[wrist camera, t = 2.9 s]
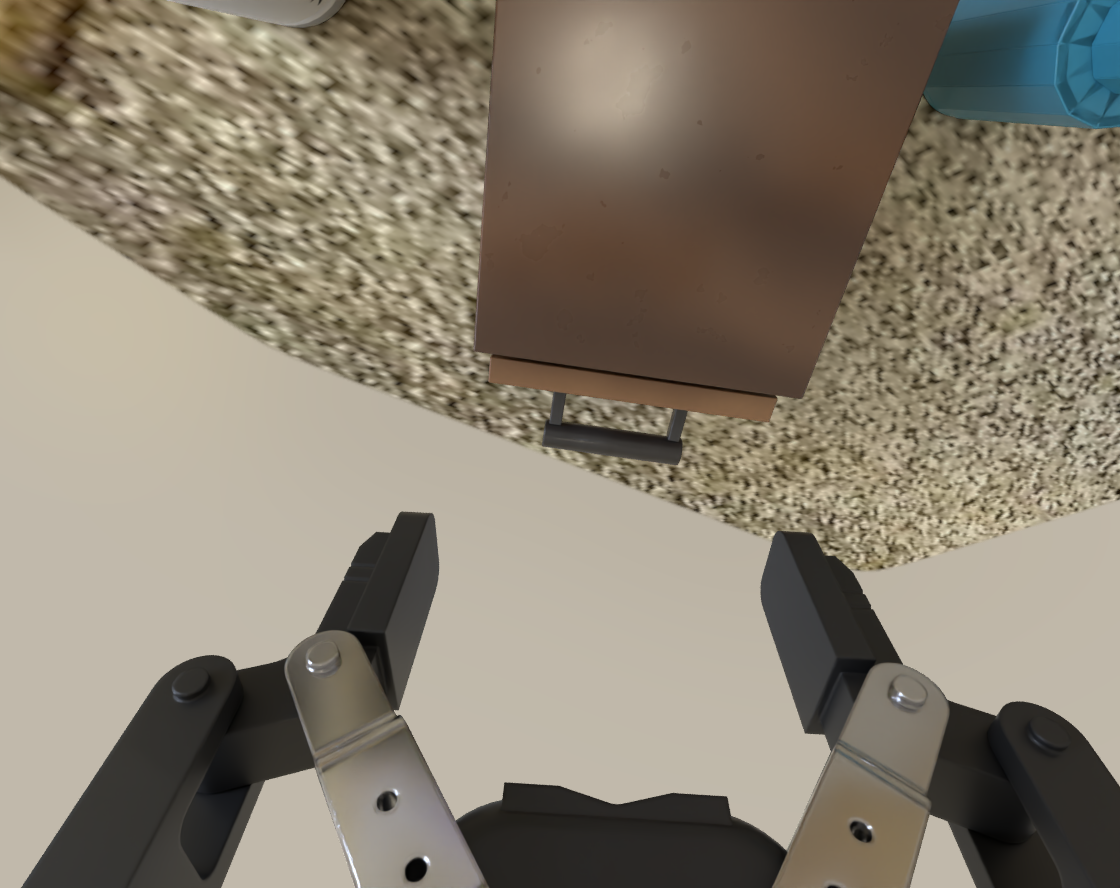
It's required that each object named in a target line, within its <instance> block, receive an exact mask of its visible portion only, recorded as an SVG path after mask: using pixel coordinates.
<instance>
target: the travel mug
mask: <svg viewBox="0 0 1120 888" xmlns="http://www.w3.org/2000/svg"><path fill="white" fill-rule="evenodd" d="M167 1H172V2H176V3H181V4H186V5H190V6H195V7H199V8H204V9H209V10H213V11H218V12H223V13H227V14H232V15H236V16H241V17H246V18H250V19H255V20H260V21H264V22H269V23H275V24H278V25H283V26H287V27H298V28H305V27H310V26H315V25H318V24H320V23H322V22H324V21H326V20H328V19H330V18H331V17H332V16H333V15H334V14H335V13H336V12H337V11H339V10H340V8H341V7H342V5H343V4H344V2H345V1H346V0H167Z"/></svg>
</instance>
